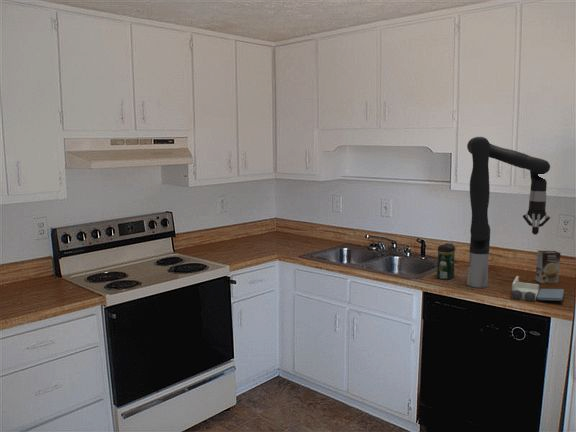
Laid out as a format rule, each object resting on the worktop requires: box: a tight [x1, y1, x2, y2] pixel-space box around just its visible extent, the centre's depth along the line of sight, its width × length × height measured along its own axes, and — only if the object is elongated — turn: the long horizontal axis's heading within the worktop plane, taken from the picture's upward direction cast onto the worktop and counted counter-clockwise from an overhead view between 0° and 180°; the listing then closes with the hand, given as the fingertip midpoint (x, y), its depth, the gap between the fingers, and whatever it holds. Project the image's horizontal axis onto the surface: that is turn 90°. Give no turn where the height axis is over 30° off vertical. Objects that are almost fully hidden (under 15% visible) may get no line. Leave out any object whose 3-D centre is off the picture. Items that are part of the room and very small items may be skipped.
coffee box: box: [534, 250, 561, 284], centre depth 270 cm, size 9×6×16 cm
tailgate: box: [536, 288, 565, 301], centre depth 243 cm, size 1×16×10 cm
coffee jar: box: [436, 243, 456, 280], centre depth 279 cm, size 10×8×19 cm
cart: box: [510, 275, 540, 302], centre depth 248 cm, size 10×17×7 cm, turn 150°
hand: (535, 234), depth 259 cm, fingers closed
